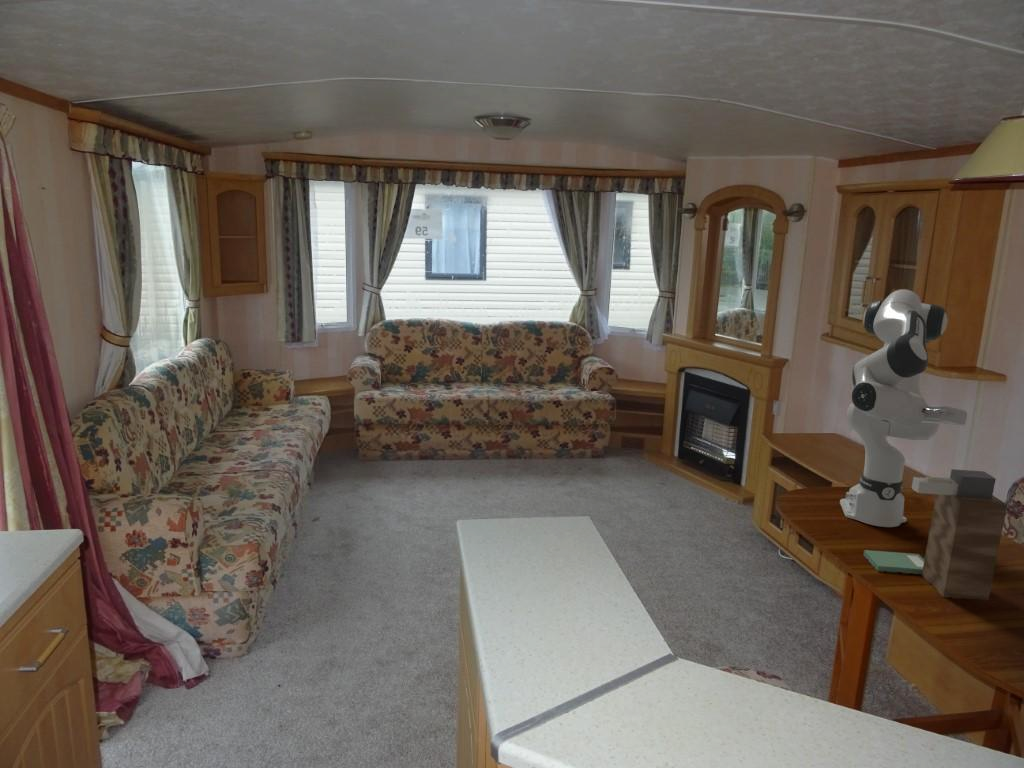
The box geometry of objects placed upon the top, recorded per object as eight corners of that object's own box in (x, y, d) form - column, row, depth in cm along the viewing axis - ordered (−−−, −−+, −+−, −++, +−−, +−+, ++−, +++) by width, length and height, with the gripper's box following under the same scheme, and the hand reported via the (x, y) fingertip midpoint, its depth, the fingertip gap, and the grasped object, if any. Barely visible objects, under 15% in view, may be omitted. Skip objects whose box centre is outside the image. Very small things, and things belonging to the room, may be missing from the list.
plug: (909, 486, 191) (913, 466, 190) (980, 491, 189) (983, 471, 188) (919, 494, 185) (923, 473, 184) (991, 499, 184) (995, 478, 183)
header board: (863, 554, 210) (864, 550, 210) (917, 558, 209) (918, 554, 209) (877, 570, 200) (878, 565, 200) (934, 575, 199) (935, 570, 199)
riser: (921, 575, 199) (937, 484, 193) (963, 578, 198) (981, 487, 192) (943, 597, 187) (961, 501, 182) (988, 600, 186) (1007, 504, 181)
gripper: (947, 398, 178) (984, 410, 183) (876, 396, 197) (912, 407, 202) (942, 423, 178) (980, 435, 183) (872, 419, 197) (908, 429, 202)
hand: (944, 420), depth 193 cm, fingers open, 8 cm apart
